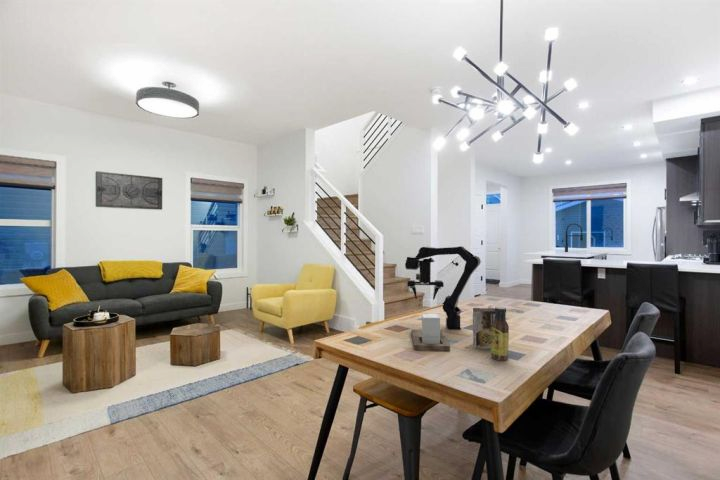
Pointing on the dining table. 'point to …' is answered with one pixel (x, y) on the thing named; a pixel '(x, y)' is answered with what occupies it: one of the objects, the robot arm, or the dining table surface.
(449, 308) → the robot arm
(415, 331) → the cutout board
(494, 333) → the sauce bottle
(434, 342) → the supplement box
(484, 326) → the coffee box
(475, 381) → the dining table surface
